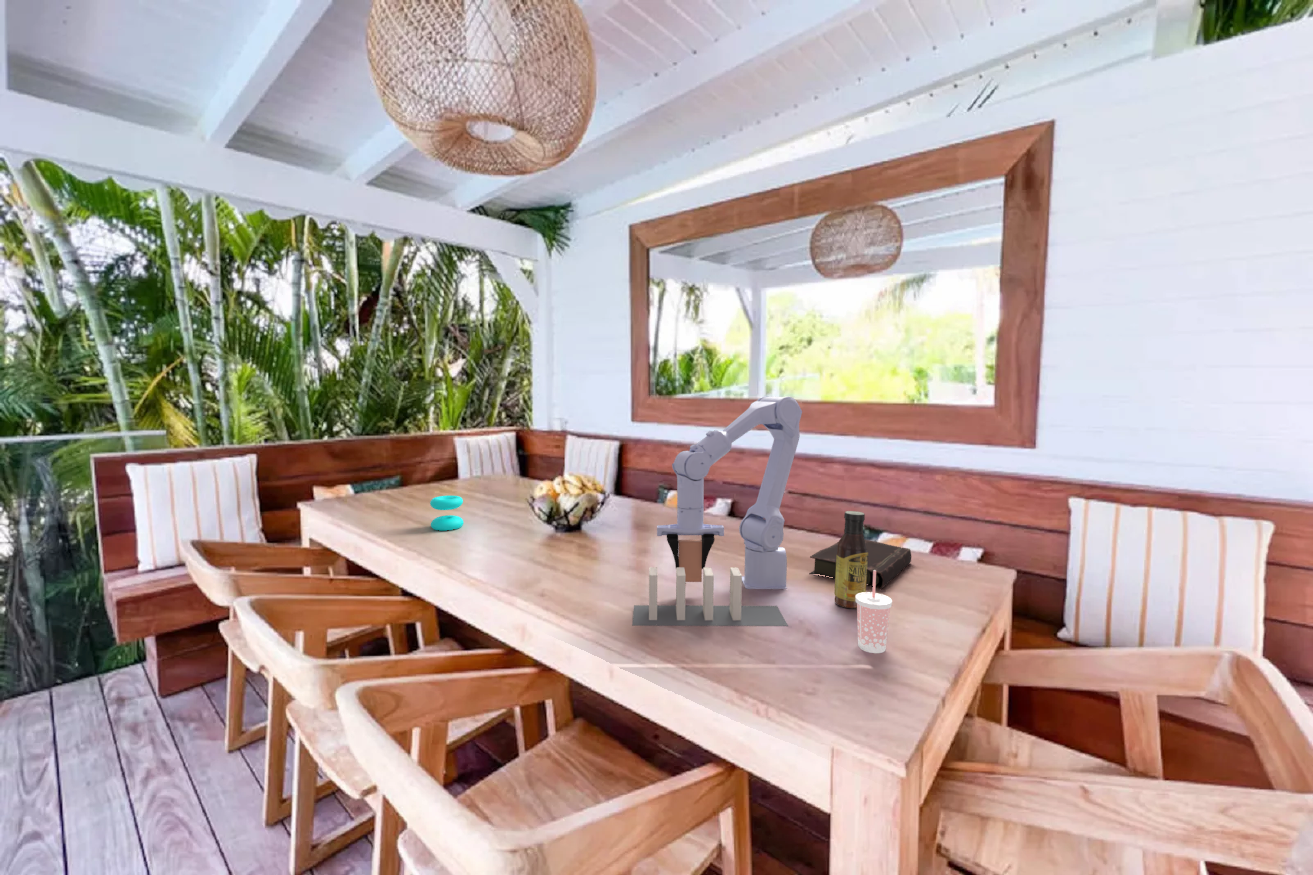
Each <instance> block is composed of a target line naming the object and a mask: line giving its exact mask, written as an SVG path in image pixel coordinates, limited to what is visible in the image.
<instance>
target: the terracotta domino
mask: <svg viewBox="0 0 1313 875" xmlns="http://www.w3.org/2000/svg"><path fill="white" fill-rule="evenodd" d="M678 541H679V543H678V558H679V567H684V569H685V575H686V577H685V583H703V569H702V539H678Z"/></svg>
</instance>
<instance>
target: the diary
mask: <svg viewBox="0 0 1313 875" xmlns="http://www.w3.org/2000/svg"><path fill="white" fill-rule="evenodd" d="M864 540H865V544H866V548H867V551H868V561H867V577H866V584H868V585H869V584H870V583H871V584H870V585H871V587H872V586H873V570H876V586H877V585H878V584H879V583H880V582H881V581H882V582H881V585H880V588H879V590H880V589H881V590H882V589H884V587H886V586H887V585H888V583H889V581H890V580H891V579H892V580H893V579H894V578H896V577H897V576H898V575H899V574H900V573H901V572H902V571H903V570H904V569H905V568H906V567H908V566H907V565H908V564H909V563H910V564H911V562H912V551H911V548H908V547H903V546H902V547H901V546H897V545H891V544H888V543H887V544H886V543H884V542H883V543H882V542H879V541H874V540H868V539H864ZM838 542H839V541H837V542H836V543H834V544H832V545H830V546H829V547H826V548H824V549H821V550H819V551H817V552H814V554H812V555H810V557H809V558H810V559H814V570H813V571H811V572H809V573H808V574H809V575H810V574H820V575H825V577H826V576H829V577H833V578H830V579H829V577H827V578H826V579H829V580H834V579H835V576H836V559H837V551H838ZM910 564H909V565H910ZM904 567H905V568H904ZM903 568H904V569H903ZM902 569H903V570H902ZM901 570H902V571H901ZM900 571H901V572H900ZM899 572H900V573H899ZM898 573H899V574H898ZM897 574H898V575H897ZM896 575H897V576H896ZM895 576H896V577H895ZM817 577H820V576H819V575H818V576H817ZM821 578H824V577H823V576H822V577H821ZM892 580H891V581H892ZM891 581H890V582H891ZM868 585H867V586H868ZM870 585H869V586H870Z"/></svg>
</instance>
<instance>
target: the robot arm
mask: <svg viewBox="0 0 1313 875" xmlns="http://www.w3.org/2000/svg"><path fill="white" fill-rule="evenodd" d="M802 415H803V410H802V408H801V406H800V404H799V403H798V402H797V400H796V399H795V398H794V397H791V396H784V397H783V396H768V395H763V396H761V397H759V398H757V400H755V401H753V402H751V403H750V405H749V407H748V408H747V409H746V410H745V411H743V413H741V414H740V415H739V416H738V417H736V418H735V419H734V420H733V421H732V422H731V423H730V424H729V425H727V426H726V427H725V428H724V429H722V430H719V429H715V430H709V431H707V432H706V433H705V435H706V436H705V437H704V438H702V439H700V441H698V442H697V443H696V444H691V445H690V446H689V450H683V451H680V452H679V453H678V454H677V455H675V459H674V461H673V463H672V464H671V466H672V470H673V472H674V473H675V475H676V480H677V481H676V482H677V487H676V489H677V491H676V492H677V494H676V495H677V496H676V499H677V500H676V502H677V504H676V507H677V511H676V512H677V514H676V518H677V520H676V523H675V524H674V523H673V524H663V525H661V524H660V525H656V537H662V536H666V542H667V544H668V545H669V548H670V550H671V552H672V556H673V559H674V565H675V568H676V567H679V536H701V540H702V570H703V567H706V564H707V559H708V556H709V554H710V551H711V549H712V547H713V545H714V542H715V536H719V537H725V526H724V525H722V524H721V525H720V524H718V525H717V524H707V523H706V524H705V523H704V513H705V512H704V511H705V510H704V496H705V495H704V493H705V491H704V490H705V486H704V484H705V477H707V475H708V474H709V472H710V468H711V467H712V466H713V465H714V464H716V463H717V462H718V461H719V460H720V459H722V458H723V457H725V455H727V454H728V453H729V452H730V451H731V450H732V445H733V443H734V442H736V441H737V440H738V439H740V438H741V437H743V436H744V435H745V434H747V433H748V432H750V431H751V430H753V429H754V428H756V427H757V426H759V425H763V426H764V427H765V428H766V429H767V431H769V433H770V434H771V436H772V438H773V442H772V445H771V449H770V453H769V457H768V460H767V463H766V467H765V471H764V473H763V476H762V480H761V485H760V487H759V490H758V495H757V498H756V502H755V503H754V504H753V505H752V506H750V507H749V508H748V509H747V511H746V513H745V516H744V517H743V518H742V519H741V521H740V523H739V528H738V531H739V532H738V533H739V535H740V537H741V538H742V539H743V545H744V575H742V585H743V586H744V588H745V589H746V590H786V589H788V587H787V576H788V575H787V574H788V573H787V572H788V569H787V568H788V567H787V566H788V562H787V559H788V557H787V552H786V548H785V547H783V546H781V544H782V543H783V540H784V525H785V518H784V517H783V514H782V513H781V511H780V509H781V508H780V507H781V504H782V501H783V498H784V494H785V491H786V487H787V483H788V479H789V476H790V472H791V469H792V465H793V462H794V459H795V455H796V451H797V447H798V444H799V442H800V422H801V418H802Z"/></svg>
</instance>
